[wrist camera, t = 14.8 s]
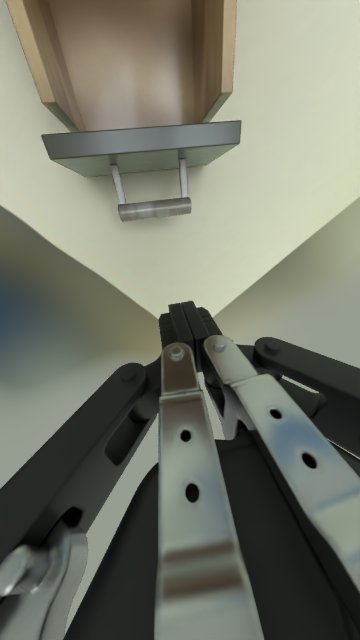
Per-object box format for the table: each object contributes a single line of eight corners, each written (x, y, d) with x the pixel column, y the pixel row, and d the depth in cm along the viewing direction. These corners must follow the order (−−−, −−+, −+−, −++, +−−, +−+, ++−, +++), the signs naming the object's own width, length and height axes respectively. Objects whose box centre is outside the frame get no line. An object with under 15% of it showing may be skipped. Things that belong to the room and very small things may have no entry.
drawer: (206, 209, 22) (235, 210, 15) (99, 222, 21) (77, 230, 14) (205, -130, 11) (300, -646, 4) (-17, -144, 10) (-361, -895, 3)
